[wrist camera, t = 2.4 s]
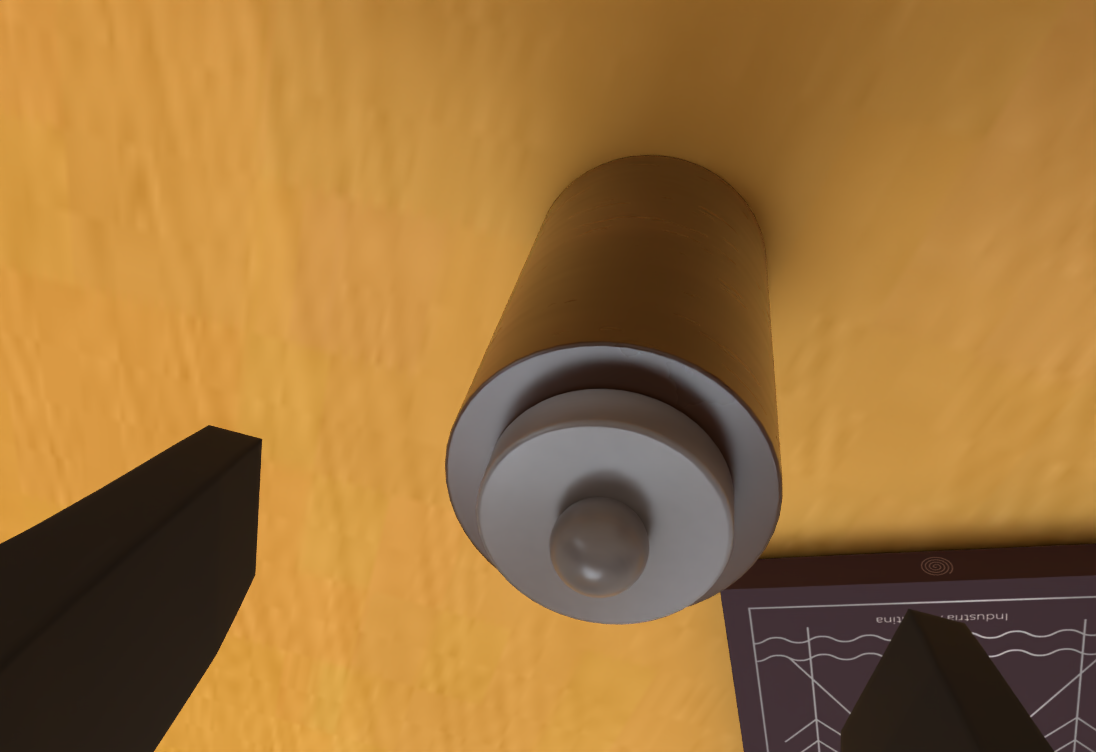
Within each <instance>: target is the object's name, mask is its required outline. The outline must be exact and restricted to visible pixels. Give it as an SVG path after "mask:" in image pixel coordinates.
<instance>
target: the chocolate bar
mask: <svg viewBox="0 0 1096 752" xmlns="http://www.w3.org/2000/svg"><path fill="white" fill-rule="evenodd" d="M720 593H721V600H722V606H723V613H724V620H725V627H726V633H727V640H728V647H729V653H730V660H731V667H732V674H733V680H734V687H735V694H736V701H737V707H738V714H739V721H740V728H741V734H742V741H743V748H744V752H841V730H842V728H843V726H844V725H845V723H846V721H847V719H848V717H849V715H850V714H851V712H852V710H853V708H854V706H855V705H856V703H857V701H858V699H859V697H860V696H861V694H862V692H863V690H864V688H865V686H866V685H867V683H868V681H869V679H870V677H871V676H872V674H873V672H874V670H875V668H876V667H877V665H878V663H879V661H880V659H881V657H882V656H883V654H884V652H885V650H886V648H887V647H888V645H889V643H890V641H891V639H892V638H893V636H894V634H895V632H896V630H897V628H898V627H899V625H900V623H901V621H902V619H903V618H904V616H905V614H906V612H907V610H908V609H912V610H916V611H920V612H924V613H928V614H931V615H935V616H939V617H943V618H947V619H950V620H954V621H958V622H962V623H965V624H966V625H967V627H968V628H969V629H970V631H971V632H972V634H973V635H974V636H975V638H976V639H977V640H978V642H979V643H980V645H981V646H982V647H983V649H984V650H985V652H986V653H987V654H988V656H989V657H990V659H991V660H992V662H993V663H994V665H995V666H996V667H997V669H998V670H999V672H1000V673H1001V675H1002V676H1003V678H1004V679H1005V681H1006V682H1007V683H1008V685H1009V686H1010V688H1011V689H1012V691H1013V692H1014V694H1015V695H1016V697H1017V698H1018V699H1019V701H1020V702H1021V704H1022V705H1023V707H1024V708H1025V710H1026V711H1027V713H1028V714H1029V715H1030V717H1031V718H1032V720H1033V721H1034V723H1035V724H1036V726H1037V727H1038V728H1039V730H1040V731H1041V733H1042V734H1043V736H1044V737H1045V739H1046V740H1047V741H1048V743H1049V744H1050V746H1051V747H1052V749H1053V750H1054V751H1055V752H1096V544H1081V545H1059V546H1037V547H1015V548H993V549H970V550H948V551H926V552H904V553H882V554H860V555H838V556H816V557H794V558H772V559H757V561H756V562H755V563H754V565H753V566H752V567H751V568H750V569H749V570H748V571H747V572H746V573H745V574H744V575H743V576H742V577H741V578H739V579H738V580H737V581H735V582H734V583H733V584H731V585H730V586H729V587H727V588H726V589H724V590H723V591H721V592H720Z"/></svg>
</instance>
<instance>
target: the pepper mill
mask: <svg viewBox="0 0 1096 752" xmlns="http://www.w3.org/2000/svg"><path fill="white" fill-rule="evenodd" d="M445 472H446V483H447V488H448V493H449V497H450V501H451V504H452V506H453V509H454V512H455V514H456V517H457V519H458V521H459V523H460V524H461V526H462V528H463V530H464V532H465V533H466V535H467V536H468V538H469V539H470V540H471V542H472V543H473V545H474V546H475V547H476V549H477V550H478V551H479V552H480V553H481V554H482V555H483V556H484V557H485V558H486V559H487V561H488V562H490V563H491V564H492V565H493V566H494V567H495V568H496V569H498V570H499V572H500V573H501V574H502V575H503V576H504V577H505V578H506V579H507V581H508V582H509V583H510V584H512V585H513V586H514V587H515V588H516V589H517V590H519V591H520V592H521V593H522V594H524V595H525V596H527V597H528V598H530V599H531V600H532V601H534V602H536V603H538V604H540V605H542V606H543V607H545V608H547V609H550V610H552V611H554V612H557V613H559V614H562V615H565V616H568V617H571V618H574V619H578V620H583V621H587V622H593V623H601V624H634V623H641V622H647V621H652V620H656V619H659V618H663V617H666V616H669V615H671V614H673V613H676V612H678V611H680V610H682V609H684V608H685V607H688V606H692V605H694V604H696V603H699V602H701V601H703V600H706V599H708V598H710V597H712V596H714V595H716V594H717V593H719V592H721V591H723V590H724V589H726V588H727V587H729V586H730V585H731V584H733V583H734V582H735V581H737V580H738V579H739V578H741V577H742V576H743V575H744V574H745V573H746V572H747V571H748V570H749V569H750V568H751V567H752V566H753V565H754V563H755V562H756V561H757V559H758V558H759V557H760V555H761V554H762V553H763V551H764V550H765V548H766V547H767V545H768V543H769V541H770V539H771V537H772V535H773V533H774V531H775V528H776V525H777V522H778V519H779V516H780V510H781V503H782V470H781V456H780V442H779V429H778V415H777V401H776V388H775V374H774V360H773V347H772V333H771V319H770V306H769V292H768V278H767V265H766V253H765V247H764V241H763V237H762V234H761V231H760V228H759V225H758V223H757V221H756V219H755V217H754V215H753V213H752V211H751V210H750V208H749V207H748V205H747V204H746V202H745V201H744V200H743V199H742V197H741V196H740V195H739V194H738V193H737V192H736V191H735V190H734V189H733V188H732V187H731V186H730V185H729V184H727V183H726V182H725V181H724V180H723V179H721V178H720V177H718V176H717V175H715V174H713V173H712V172H710V171H709V170H707V169H704V168H702V167H700V166H698V165H696V164H693V163H690V162H687V161H684V160H681V159H677V158H671V157H666V156H652V155H645V156H632V157H627V158H622V159H617V160H614V161H611V162H608V163H605V164H602V165H600V166H598V167H596V168H594V169H592V170H590V171H588V172H587V173H585V174H584V175H582V176H581V177H579V178H578V179H576V180H575V181H574V182H573V183H572V184H570V185H569V186H568V187H567V188H566V189H565V190H564V191H563V192H562V193H561V195H560V196H559V197H558V198H557V199H556V200H555V202H554V204H553V205H552V207H551V208H550V210H549V211H548V213H547V215H546V218H545V220H544V222H543V224H542V226H541V229H540V231H539V233H538V235H537V238H536V240H535V242H534V244H533V247H532V249H531V251H530V253H529V256H528V258H527V260H526V262H525V265H524V267H523V269H522V271H521V274H520V276H519V278H518V280H517V283H516V285H515V287H514V289H513V292H512V294H511V296H510V298H509V301H508V303H507V305H506V307H505V310H504V312H503V314H502V316H501V319H500V321H499V323H498V325H497V328H496V330H495V332H494V334H493V337H492V339H491V341H490V343H489V346H488V348H487V350H486V352H485V355H484V357H483V359H482V361H481V364H480V366H479V368H478V370H477V373H476V375H475V377H474V379H473V382H472V384H471V386H470V388H469V391H468V393H467V395H466V397H465V400H464V402H463V404H462V406H461V409H460V411H459V413H458V415H457V418H456V420H455V422H454V424H453V427H452V429H451V432H450V436H449V440H448V444H447V449H446V459H445Z"/></svg>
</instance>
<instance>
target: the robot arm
mask: <svg viewBox="0 0 1096 752" xmlns="http://www.w3.org/2000/svg"><path fill="white" fill-rule="evenodd" d="M261 449H262V439H260V438H256V437H252V436H248V435H245V434H241V433H237V432H233V431H229V430H226V429H222V428H218V427H214V426H210V425H208V426H207V427H205V428H203V429H201V430H200V431H198V432H196V433H195V434H193V435H191V436H189V437H187V438H186V439H184V440H182V441H180V442H179V443H177V444H175V445H173V446H172V447H170V448H168V449H167V450H165V451H163V452H162V453H160V454H158V455H157V456H155V457H153V458H152V459H150V460H148V461H147V462H145V463H143V464H141V465H140V466H138V467H136V468H135V469H133V470H131V471H130V472H128V473H126V474H125V475H123V476H121V477H120V478H118V479H116V480H114V481H113V482H111V483H109V484H108V485H106V486H104V487H103V488H101V489H99V490H97V491H96V492H94V493H92V494H90V495H89V496H87V497H85V498H83V499H82V500H80V501H78V502H76V503H74V504H73V505H71V506H69V507H67V508H66V509H64V510H62V511H60V512H59V513H57V514H55V515H53V516H51V517H50V518H48V519H46V520H44V521H43V522H41V523H39V524H37V525H35V526H34V527H32V528H30V529H28V530H26V531H24V532H23V533H21V534H19V535H17V536H15V537H13V538H11V539H9V540H7V541H5V542H3V543H1V544H0V752H154V750H155V749H156V747H157V746H158V744H159V743H160V741H161V740H162V738H163V737H164V735H165V734H166V732H167V731H168V729H169V728H170V726H171V724H172V723H173V721H174V720H175V718H176V717H177V715H178V714H179V712H180V711H181V709H182V707H183V706H184V704H185V703H186V701H187V700H188V698H189V697H190V695H191V694H192V692H193V690H194V689H195V687H196V686H197V684H198V683H199V681H200V680H201V678H202V676H203V675H204V673H205V672H206V670H207V669H208V667H209V665H210V664H211V662H212V661H213V659H214V657H215V656H216V654H217V652H218V650H219V648H220V646H221V644H222V642H223V640H224V638H225V636H226V634H227V632H228V630H229V628H230V626H231V624H232V622H233V620H234V618H235V616H236V614H237V612H238V610H239V608H240V606H241V604H242V602H243V600H244V597H245V595H246V593H247V591H248V589H249V587H250V585H251V583H252V581H253V578H254V576H255V569H256V549H257V529H258V509H259V489H260V469H261ZM841 752H1055V751H1054V750H1053V749H1052V747H1051V746H1050V744H1049V743H1048V741H1047V740H1046V739H1045V737H1044V736H1043V734H1042V733H1041V731H1040V730H1039V728H1038V727H1037V726H1036V724H1035V723H1034V721H1033V720H1032V718H1031V717H1030V715H1029V714H1028V713H1027V711H1026V710H1025V708H1024V707H1023V705H1022V704H1021V702H1020V701H1019V699H1018V698H1017V697H1016V695H1015V694H1014V692H1013V691H1012V689H1011V688H1010V686H1009V685H1008V683H1007V682H1006V681H1005V679H1004V678H1003V676H1002V675H1001V673H1000V672H999V670H998V669H997V667H996V666H995V665H994V663H993V662H992V660H991V659H990V657H989V656H988V654H987V653H986V652H985V650H984V649H983V647H982V646H981V645H980V643H979V642H978V640H977V639H976V638H975V636H974V635H973V634H972V632H971V631H970V629H969V628H968V627H967V625H966V624H965V623H962V622H958V621H954V620H950V619H947V618H943V617H939V616H935V615H931V614H928V613H924V612H920V611H916V610H912V609H908V610H907V612H906V614H905V616H904V618H903V619H902V621H901V623H900V625H899V627H898V628H897V630H896V632H895V634H894V636H893V638H892V639H891V641H890V643H889V645H888V647H887V648H886V650H885V652H884V654H883V656H882V657H881V659H880V661H879V663H878V665H877V667H876V668H875V670H874V672H873V674H872V676H871V677H870V679H869V681H868V683H867V685H866V686H865V688H864V690H863V692H862V694H861V696H860V697H859V699H858V701H857V703H856V705H855V706H854V708H853V710H852V712H851V714H850V715H849V717H848V719H847V721H846V723H845V725H844V726H843V728H842V730H841Z"/></svg>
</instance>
